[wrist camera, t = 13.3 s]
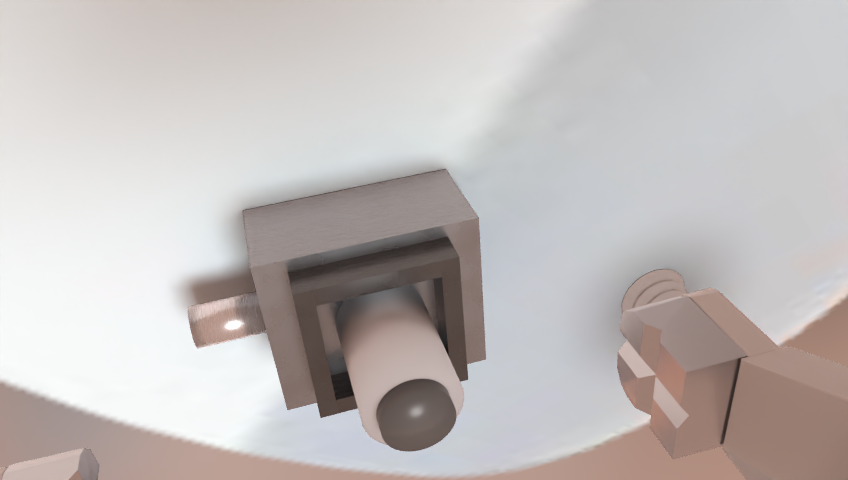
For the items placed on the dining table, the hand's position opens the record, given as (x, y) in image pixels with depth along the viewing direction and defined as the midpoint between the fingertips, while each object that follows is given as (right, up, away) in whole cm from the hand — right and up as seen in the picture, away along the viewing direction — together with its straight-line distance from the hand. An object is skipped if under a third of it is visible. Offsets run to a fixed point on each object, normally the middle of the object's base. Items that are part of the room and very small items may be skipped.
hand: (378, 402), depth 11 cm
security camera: (-2, -2, +29) cm, 29 cm away
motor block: (-5, +1, +33) cm, 34 cm away
